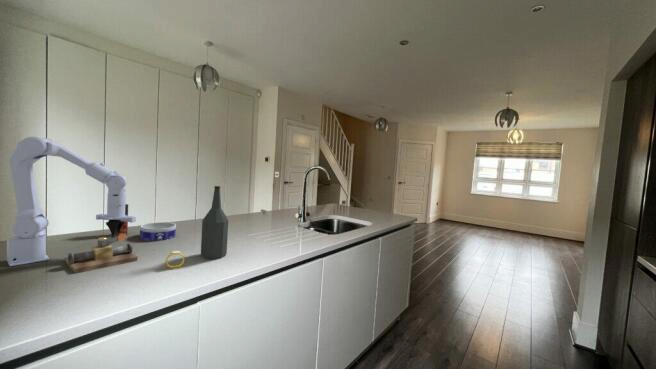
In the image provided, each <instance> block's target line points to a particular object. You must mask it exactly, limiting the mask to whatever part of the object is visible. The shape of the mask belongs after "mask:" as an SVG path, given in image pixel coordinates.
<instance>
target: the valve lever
mask: <svg viewBox="0 0 656 369" xmlns="http://www.w3.org/2000/svg"><path fill="white" fill-rule="evenodd" d="M124 240H127V235H126V233H120V234H116V235H113V236H112V235H111V236H109V237H107V236H106V237H105V236H101V237H98V238H97V246H102V247H103V246H105V245H108V244H109V245H111V244H114V243H118V242H121V241H124Z"/></svg>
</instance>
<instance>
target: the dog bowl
mask: <svg viewBox="0 0 656 369" xmlns="http://www.w3.org/2000/svg"><path fill="white" fill-rule="evenodd" d="M139 228H140V229H139V238H140V240H142V241H146V242H147V241H148V242H159V241H160V242H161V240H162V241H166V240H167V239H168V240H172V239H173V238H175V237H176V232H177V224H176V223H174V222H169V221H156V222H154V221H153V222H146V223H143V224H141V225H140V226H139ZM171 238H172V239H171Z"/></svg>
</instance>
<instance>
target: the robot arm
mask: <svg viewBox="0 0 656 369" xmlns="http://www.w3.org/2000/svg"><path fill="white" fill-rule="evenodd" d="M47 156H51V157H58V158H62V159H64V160H65V161H67V162H69V163H71V164H74V166H77V167H79V168H82V169H83V170H84V171H85V174H86V176H89V177H91V178H93V179H94V180H96V181H98V182H100V183H101V184H104V185H105V186H106V187H107V188H108V189H107V201H106V202H107V206H106V213H98V214H95V219H96V220H97V221H99V220H104V221H107V222H105V225H106V226H107V227H108V229H109V231H110V235H111V237H112V236H113V235H116V234H119V232H120V230H121V228H122V226H123V225H124V223H125V222H128V223H131V224H132V223H136V221H137V220H136V218H137V217H136V216H131V215H128V216H127V215H125V204H126V199H127V198H126V197H127V196H126V195H127V194H126V191H127V190H126V186H127V184H128V179H127V178H126V177H125V176H124V175H123V174H120V173H118V171H116V170H112V169H110V168H108V167H107V166H106V164H105V163H103V162H101V163H100V162H98V161H97V162H91V161H89V160H88V159H86V158H84V157H83V156H81V155H80V154H77V153H76V152H75V151H74V150H71V149H70V148H68V147H67V146H65V145H62V144H61V143H58V142H57V141H54V140H52V139H50V138H47V137H38V136H27V137H26V138H23V139H21V140H20V141H18V142H17V143H16V148H15V149H14V151H13V152H12V154H11V155H10V157H9V160H8V161H9V166H10V167H9V168H10V173H11V177H12V178H11V179H12V183H13V189H14V190H13V191H14V195H15V200H16V206H17V212H16V214H15V216H14V224H13V226H12V232H13V234H15V237H10V238H7V240H6V255H5V260H6V262H7V264H8V266H9V267H13V266H20V265H26V264H32V263H38V262H44V261H49V260H50V257H49V256H48V255H47V232H46V231H45V230H46V229H47V228H48V227H49V224H50V222H49V219H48V218H47V216H45V214H44V211H43V209H42V208H41V207H40V201H39V195H38V190H37V183H36V178H35V173H34V172H35V171H34V165H33V164H35V163H36V162H37V161H39V160H40V159H42V158H45V157H47ZM96 220H95V221H96Z"/></svg>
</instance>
